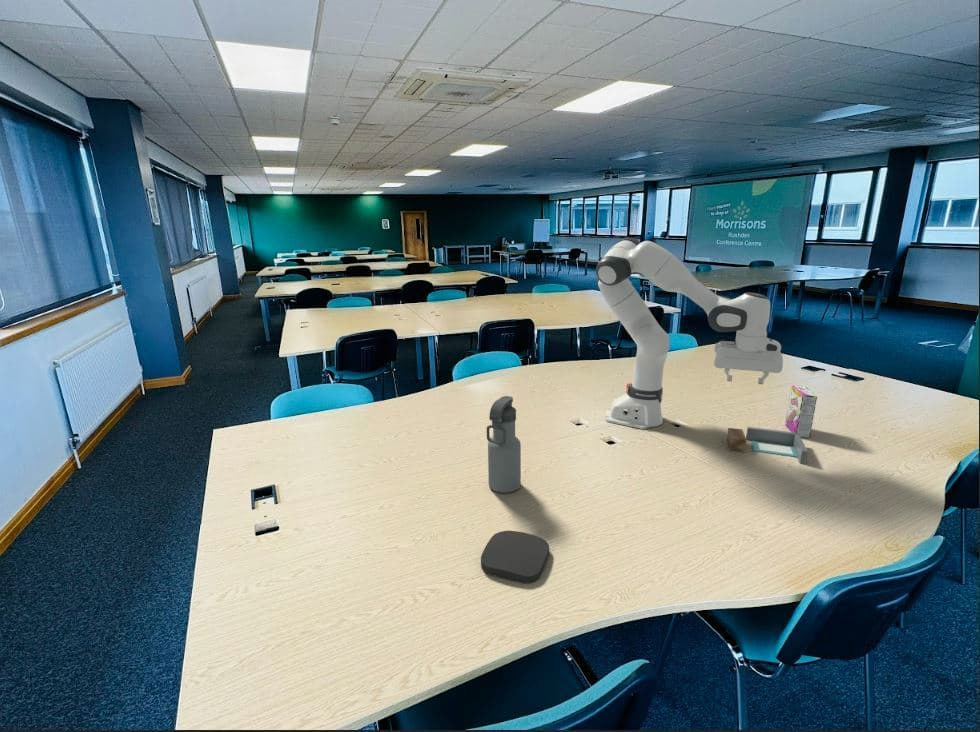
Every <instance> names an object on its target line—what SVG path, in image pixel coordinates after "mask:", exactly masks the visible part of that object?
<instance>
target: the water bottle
mask: <svg viewBox="0 0 980 732" xmlns="http://www.w3.org/2000/svg"><path fill="white" fill-rule="evenodd" d="M513 402H514V397H512V396H509V395H504V396H501V397H500V398H498V399H496V400H495V401H494V402H493V404H492V405H491V407H490V410H489V421H491V424H489V425H488V426H487V427H486V440H487V441H488V442H487V454H488V455H487V463H488V464H487V465H488V466H487V467H488V469H487V470H488V474H487V475H488V486H489V488H490V489H491V491H494V492H496V493H499V494H509V492H510V493H513V491H514V492H515V490H516V491H517V490H519V489H520V487H521V481H522V478H521V476H522V475H521V473H522V471H521V470H522V467H521V465H522V463H521V462H522V459H521V457H522V456H521V455H522V454H521V453H522V451H521V450H522V449H521V448H522V447H521V445H522V443H521V441H520V438H518V437H517V436H516V421H517V409H516V407H514V406H513ZM490 429H492V435H493V436H492V437H491V436H490Z"/></svg>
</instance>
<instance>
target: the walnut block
mask: <svg viewBox="0 0 980 732" xmlns="http://www.w3.org/2000/svg"><path fill="white" fill-rule="evenodd" d="M726 441H727V446H728V448H729V451H730V452H733V453H734V452H735V453H741V454H745V452H746V445H747V440H746V434H745V433H744V431H743V429H741V428H735V427H728V429H727V436H726Z"/></svg>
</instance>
